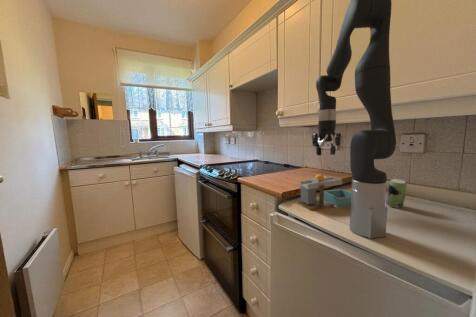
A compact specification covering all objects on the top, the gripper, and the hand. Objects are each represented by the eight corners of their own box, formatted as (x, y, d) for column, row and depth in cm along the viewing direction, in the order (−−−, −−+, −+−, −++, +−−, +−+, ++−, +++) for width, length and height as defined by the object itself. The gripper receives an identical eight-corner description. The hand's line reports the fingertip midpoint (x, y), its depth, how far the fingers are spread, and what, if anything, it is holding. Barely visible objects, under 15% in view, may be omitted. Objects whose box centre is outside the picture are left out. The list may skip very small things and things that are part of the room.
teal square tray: (360, 204, 90) (361, 196, 89) (338, 207, 87) (339, 198, 87) (341, 196, 101) (342, 189, 101) (321, 199, 98) (322, 191, 98)
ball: (327, 182, 89) (325, 173, 88) (319, 184, 88) (317, 176, 87) (321, 180, 93) (320, 172, 92) (313, 182, 92) (312, 174, 91)
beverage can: (396, 203, 90) (399, 177, 88) (409, 210, 83) (411, 181, 81) (382, 203, 91) (383, 177, 89) (392, 209, 83) (395, 181, 82)
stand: (309, 210, 85) (310, 186, 84) (297, 202, 95) (298, 181, 93) (334, 207, 88) (335, 184, 86) (319, 199, 97) (320, 179, 96)
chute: (308, 205, 86) (308, 182, 85) (295, 196, 97) (294, 177, 96) (342, 199, 90) (342, 177, 89) (325, 192, 101) (325, 172, 100)
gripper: (318, 119, 88) (317, 156, 90) (346, 119, 92) (344, 155, 94) (308, 120, 96) (308, 154, 98) (334, 120, 99) (333, 153, 101)
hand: (325, 154), depth 96 cm, fingers open, 7 cm apart
